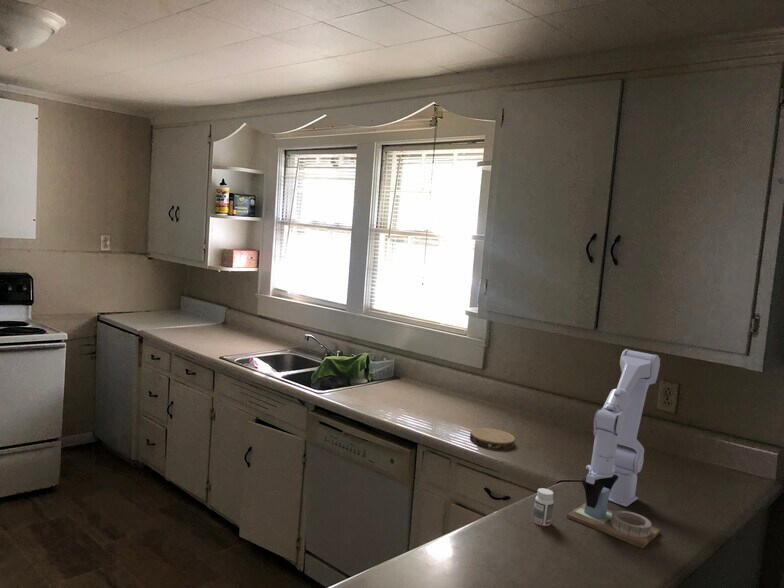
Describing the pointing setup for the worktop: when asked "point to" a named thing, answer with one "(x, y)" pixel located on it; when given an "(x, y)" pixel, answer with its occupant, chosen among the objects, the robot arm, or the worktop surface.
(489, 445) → the tan round disc
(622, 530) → the board
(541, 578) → the worktop surface
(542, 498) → the pill bottle
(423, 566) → the worktop surface
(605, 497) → the peg block
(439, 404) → the worktop surface
